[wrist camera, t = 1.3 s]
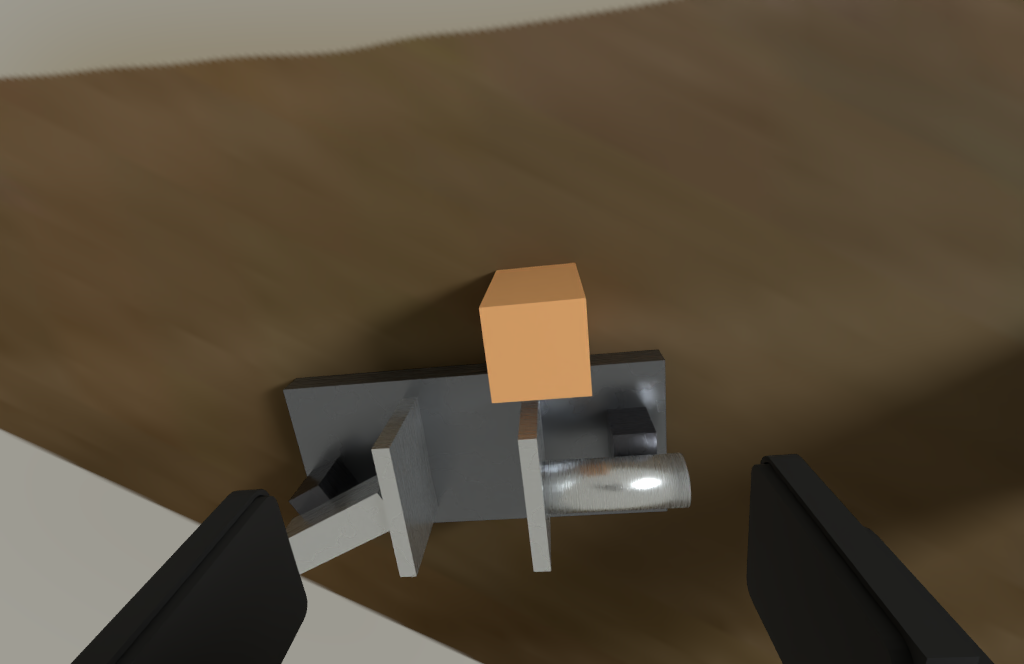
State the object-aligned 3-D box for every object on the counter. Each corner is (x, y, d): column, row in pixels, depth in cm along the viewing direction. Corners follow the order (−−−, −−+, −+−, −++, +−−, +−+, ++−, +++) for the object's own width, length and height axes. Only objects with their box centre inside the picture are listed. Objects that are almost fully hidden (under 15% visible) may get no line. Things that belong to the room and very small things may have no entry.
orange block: (575, 262, 25) (585, 298, 18) (580, 337, 26) (592, 396, 20) (496, 270, 25) (478, 307, 19) (505, 343, 27) (492, 403, 20)
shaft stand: (658, 349, 26) (693, 406, 20) (661, 493, 29) (692, 582, 23) (296, 378, 28) (225, 438, 22) (331, 511, 31) (278, 598, 25)
